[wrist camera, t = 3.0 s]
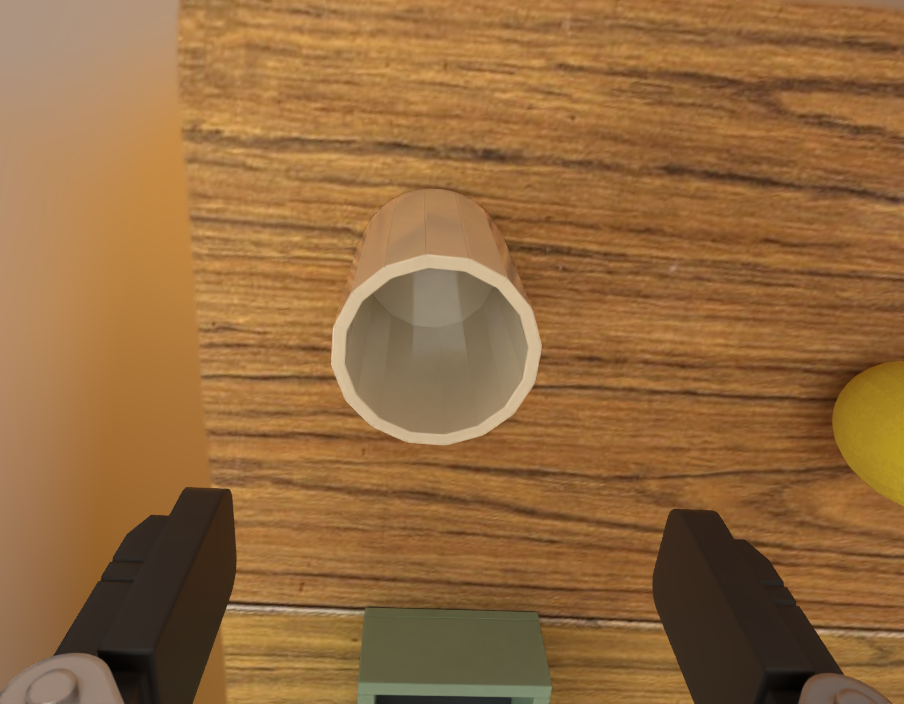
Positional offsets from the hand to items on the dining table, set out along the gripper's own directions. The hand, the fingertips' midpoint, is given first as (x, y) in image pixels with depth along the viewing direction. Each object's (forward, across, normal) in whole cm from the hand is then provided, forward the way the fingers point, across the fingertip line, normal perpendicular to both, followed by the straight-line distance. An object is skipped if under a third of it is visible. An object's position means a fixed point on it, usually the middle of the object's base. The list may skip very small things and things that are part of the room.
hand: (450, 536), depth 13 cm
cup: (+17, 0, 0) cm, 17 cm away
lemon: (+17, -20, +5) cm, 26 cm away
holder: (+17, -2, +28) cm, 32 cm away
